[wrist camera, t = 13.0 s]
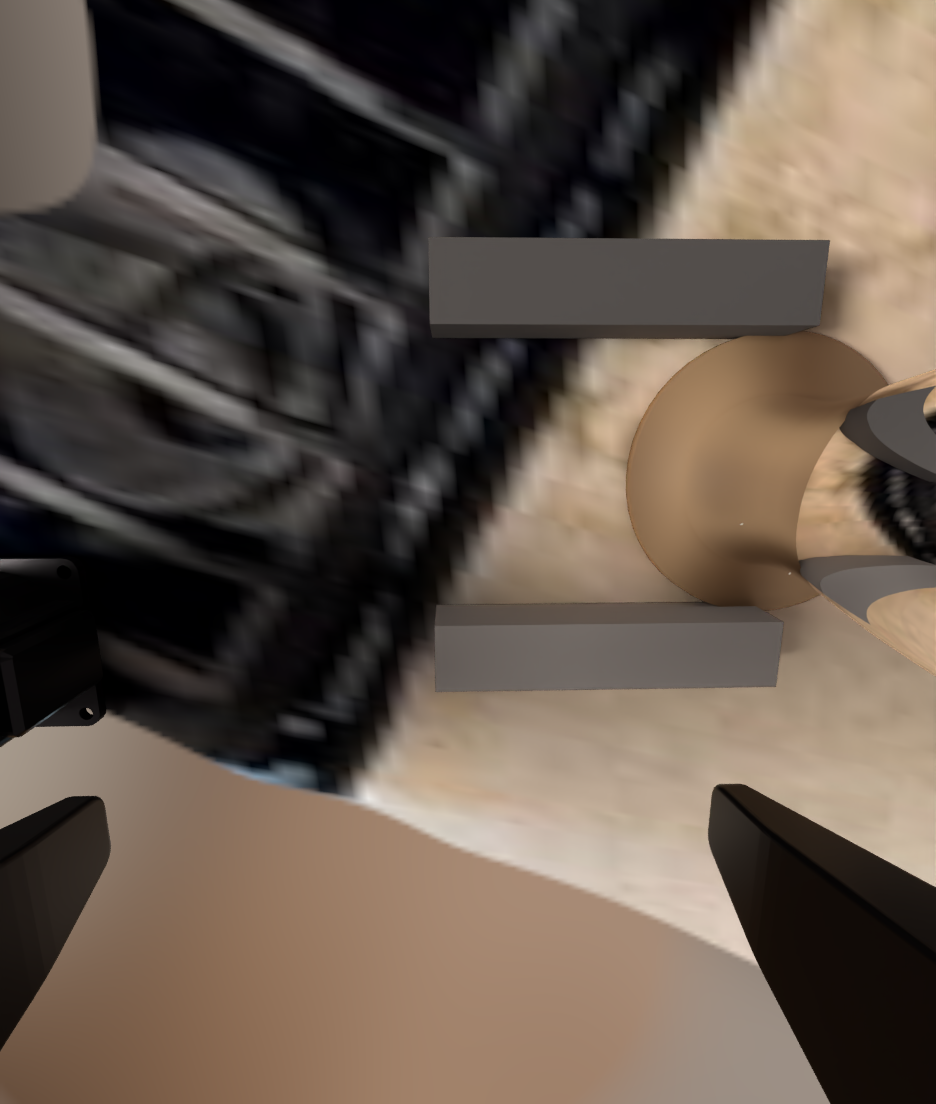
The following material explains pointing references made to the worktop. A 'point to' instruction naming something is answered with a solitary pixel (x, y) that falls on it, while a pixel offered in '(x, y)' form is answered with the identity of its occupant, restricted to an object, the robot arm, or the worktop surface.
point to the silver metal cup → (831, 502)
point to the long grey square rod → (624, 287)
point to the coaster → (683, 418)
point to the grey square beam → (604, 646)
